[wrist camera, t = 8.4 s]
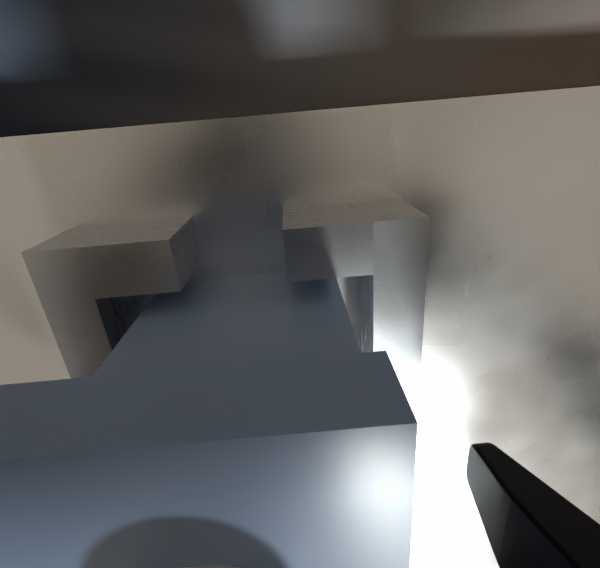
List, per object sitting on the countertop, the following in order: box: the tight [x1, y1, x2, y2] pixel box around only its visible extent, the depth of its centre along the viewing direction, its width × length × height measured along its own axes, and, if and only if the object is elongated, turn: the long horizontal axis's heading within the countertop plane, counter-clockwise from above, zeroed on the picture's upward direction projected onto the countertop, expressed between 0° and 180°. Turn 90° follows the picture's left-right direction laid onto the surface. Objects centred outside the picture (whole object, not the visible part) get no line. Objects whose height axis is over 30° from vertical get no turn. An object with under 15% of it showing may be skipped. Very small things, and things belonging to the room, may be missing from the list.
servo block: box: [0, 272, 418, 568], centre depth 7 cm, size 9×4×7 cm, turn 5°
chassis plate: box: [0, 86, 600, 568], centre depth 10 cm, size 16×20×3 cm
